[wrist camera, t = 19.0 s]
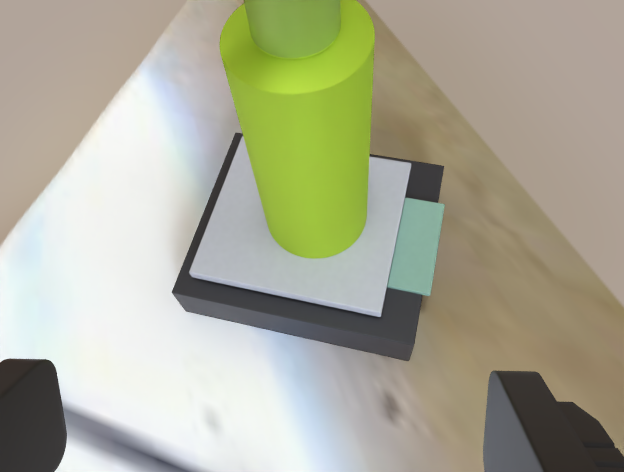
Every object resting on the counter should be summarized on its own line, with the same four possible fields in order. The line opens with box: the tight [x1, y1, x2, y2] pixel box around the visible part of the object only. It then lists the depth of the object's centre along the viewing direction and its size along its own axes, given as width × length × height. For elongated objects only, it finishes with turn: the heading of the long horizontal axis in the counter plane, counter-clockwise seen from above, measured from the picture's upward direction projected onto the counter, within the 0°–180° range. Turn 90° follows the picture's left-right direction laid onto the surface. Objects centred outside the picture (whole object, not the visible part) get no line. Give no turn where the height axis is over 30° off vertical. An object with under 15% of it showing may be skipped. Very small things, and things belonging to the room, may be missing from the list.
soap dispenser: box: [220, 0, 375, 259], centre depth 23 cm, size 6×7×20 cm
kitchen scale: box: [172, 133, 445, 361], centre depth 34 cm, size 14×12×4 cm
